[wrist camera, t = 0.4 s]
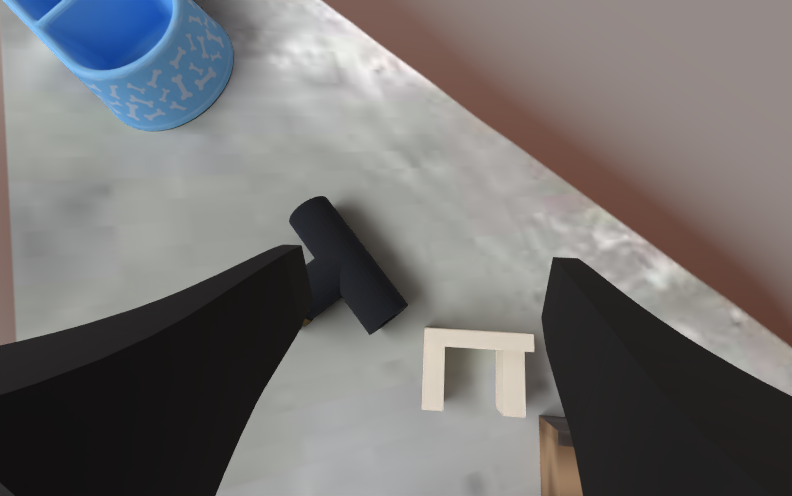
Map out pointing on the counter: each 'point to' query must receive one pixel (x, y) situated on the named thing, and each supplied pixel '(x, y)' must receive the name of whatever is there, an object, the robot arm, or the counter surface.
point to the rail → (557, 459)
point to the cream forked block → (505, 344)
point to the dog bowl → (137, 54)
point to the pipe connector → (343, 267)
